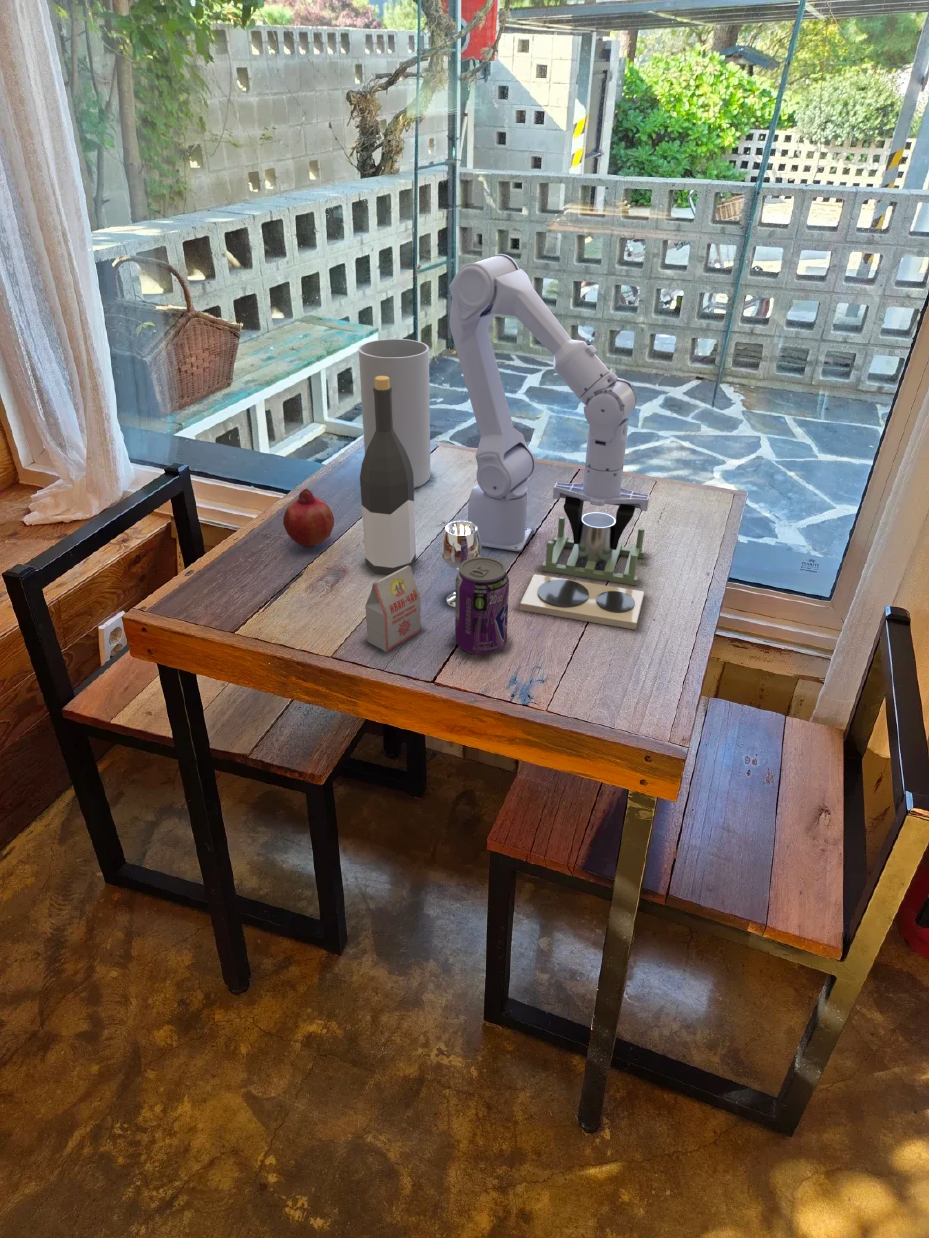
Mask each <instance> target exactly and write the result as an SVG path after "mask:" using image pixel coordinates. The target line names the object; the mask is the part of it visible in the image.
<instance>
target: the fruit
mask: <svg viewBox="0 0 929 1238" xmlns="http://www.w3.org/2000/svg"><path fill="white" fill-rule="evenodd" d="M282 525H283V527H284V530H285V531H286V532H285V533H286V534H287V535H288V536H289V538H290V539H291V540H292V541H293V542H295V543H297V544H298V545H299V546H301V547H304V548H305V547H307V548H308V547H314V546H317V545H319V544H321V543H323V542H324V541H326V540H327V539H329V537H331V534H332V532H333V529H334V526H335V516H334V513H333V511H332V510H331V508H330V506H329V505H328V503H327V502H326V501H325V500H324V499H322V498H320V497H317V496H314V494H313V493H312V491H311V490H310V489H309V488H304V489H302V490H301V491H300V493H299V495H298V498H296V499H294V500H293V501H292V502H290V503H289V504H288V506H287V507H286V509H285V512H284V514H283V519H282Z"/></svg>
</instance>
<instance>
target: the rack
mask: <svg viewBox="0 0 929 1238" xmlns="http://www.w3.org/2000/svg"><path fill="white" fill-rule="evenodd" d="M565 524H566V517H565V516H559V517H558V525H557V536H555V537H554V538H553V540H547V542H546V555H545V561H543V562H542V564H541V571H542V572H548V573H556V574H560V575H567V576H575V577H582V578H587V579H593V580H600V581H604V582H605V581H606V582H611V583H617V584H625V585H631V586H637V585H638V581H639V580H638V579H639V576H637V575H636V569H637V562H638V559H644V558H645V553H646V550H645V549H643V545H644V544H643V543H644V537H645V528H644V527H638V529H637V536H636V544H631V547H626V546H623V542H620V541H619V542H618V546H617V549H616V550H613V552H612V557H611V558H610V559H608V560H606V564H605V567H604V569H603V570H598V569H596V567H597V564H598V562H593V561H588V560H586V564H585V567H579V566H577V564H578V562H579V559H580V558H581V557H580V556H579V555H578V544H574V539H572V538H569V535H568V534H565ZM565 548H569V549H570V548H571V549H572V550H571V551H570V555H569V557H568V558H567V561H566V563H565V564H560V563H559V560H560V558H561V555H562V553H563V551H564V549H565ZM620 556H623V557H627V561H626V564H625V568H624V570H623V573H617V572H615V569H616V566H617V564H618V561H619V557H620Z"/></svg>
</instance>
